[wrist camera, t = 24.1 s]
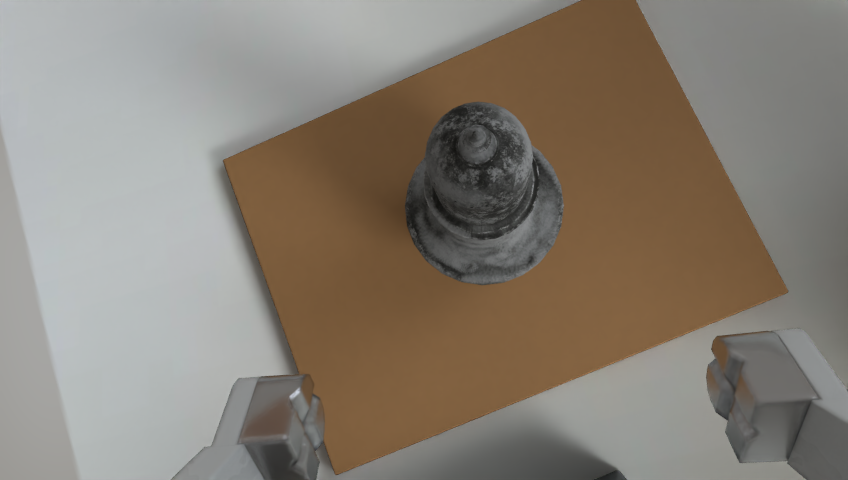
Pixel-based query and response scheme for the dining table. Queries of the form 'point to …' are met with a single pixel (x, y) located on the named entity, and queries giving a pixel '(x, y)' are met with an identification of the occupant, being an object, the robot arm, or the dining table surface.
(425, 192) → the stone finial
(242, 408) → the robot arm
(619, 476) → the dial panel
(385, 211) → the cork mat
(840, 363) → the dining table surface
